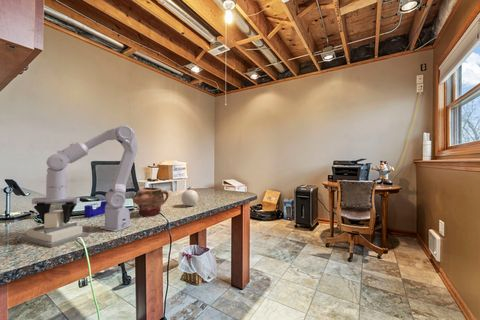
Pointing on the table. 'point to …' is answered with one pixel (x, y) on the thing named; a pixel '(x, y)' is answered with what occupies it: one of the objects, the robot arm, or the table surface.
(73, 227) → the stepped base plate
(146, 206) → the brown handled pot
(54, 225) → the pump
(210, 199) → the table surface
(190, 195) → the ornament
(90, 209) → the cable clip
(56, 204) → the mineral rock
